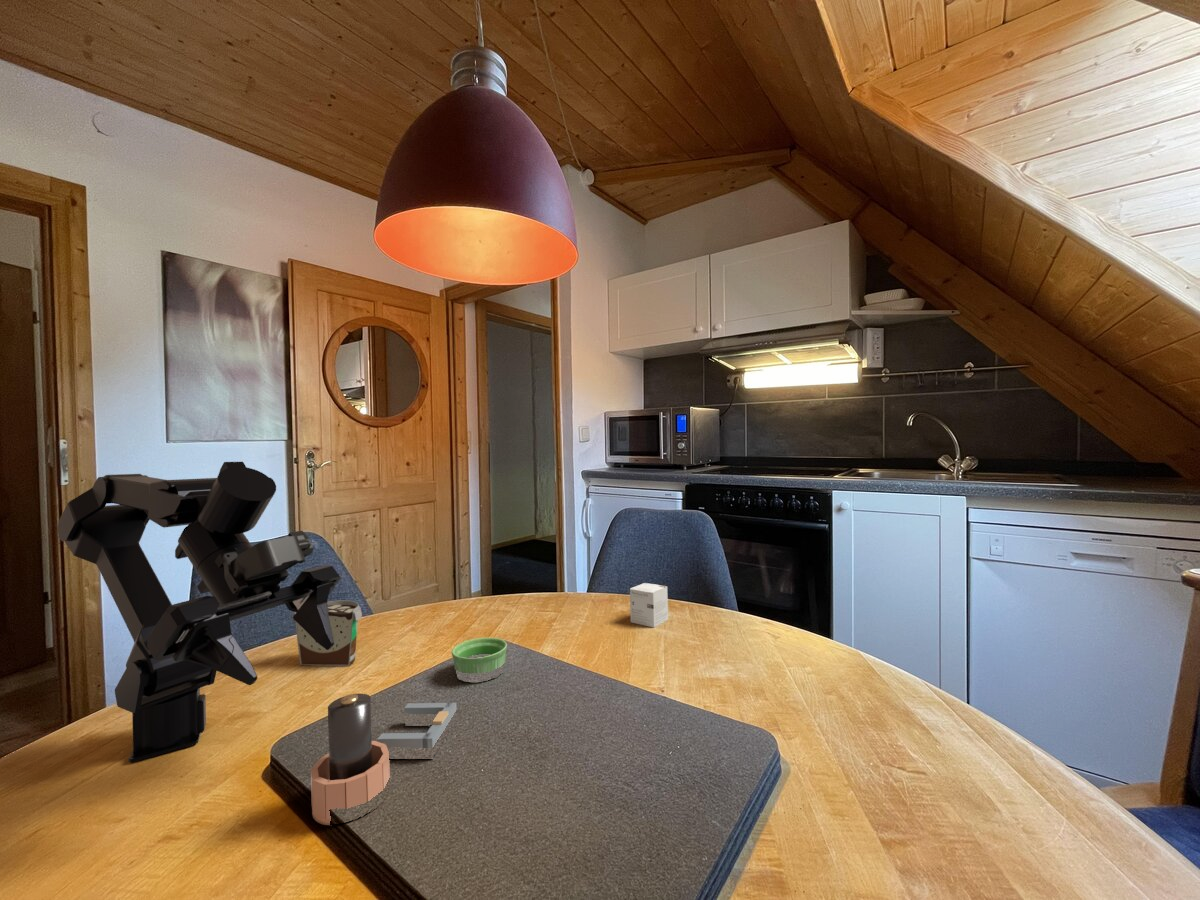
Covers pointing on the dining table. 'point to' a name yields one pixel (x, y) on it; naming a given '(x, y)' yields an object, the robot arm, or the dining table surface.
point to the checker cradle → (422, 739)
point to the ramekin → (475, 648)
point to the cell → (349, 736)
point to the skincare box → (649, 604)
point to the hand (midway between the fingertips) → (295, 663)
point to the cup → (347, 785)
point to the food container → (343, 633)
